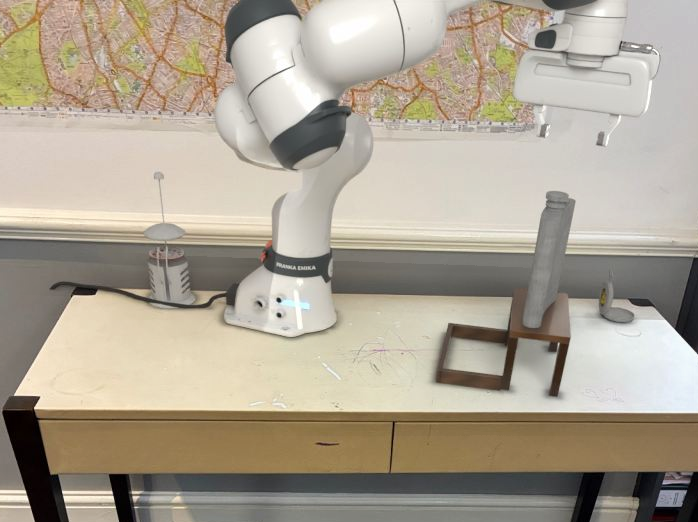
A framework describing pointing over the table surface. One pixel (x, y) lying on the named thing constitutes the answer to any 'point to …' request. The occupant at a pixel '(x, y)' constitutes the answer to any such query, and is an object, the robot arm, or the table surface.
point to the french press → (167, 264)
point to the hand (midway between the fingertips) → (571, 141)
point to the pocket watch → (606, 302)
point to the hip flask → (548, 256)
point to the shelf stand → (512, 343)
